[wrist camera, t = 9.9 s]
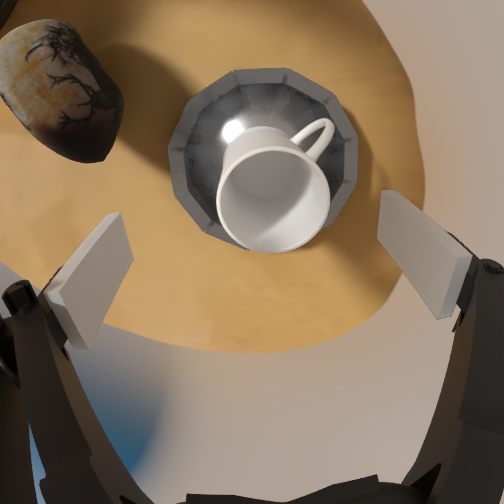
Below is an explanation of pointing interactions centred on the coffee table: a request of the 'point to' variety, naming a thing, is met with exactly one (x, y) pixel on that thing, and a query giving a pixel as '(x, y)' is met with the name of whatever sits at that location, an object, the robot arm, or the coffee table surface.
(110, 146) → the decorative stone
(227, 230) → the mug
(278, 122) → the gray metal bowl
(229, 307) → the coffee table surface
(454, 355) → the robot arm
